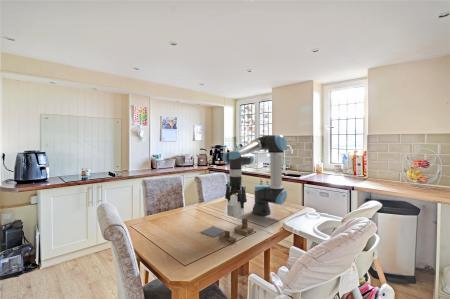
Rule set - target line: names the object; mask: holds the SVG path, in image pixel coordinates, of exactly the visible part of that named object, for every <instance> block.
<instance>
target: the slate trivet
mask: <svg viewBox="0 0 450 299" xmlns="http://www.w3.org/2000/svg"><path fill="white" fill-rule="evenodd" d="M225 231H227V230H226V229H223V228H219V227H217V226H215V225H213V226H210V227H208V228H206V229H203V230H201V231H200V233H201V234H204V235H206V236H209V237H211V238H216V237H219V235H221V234H223V233H224V234H225Z"/></svg>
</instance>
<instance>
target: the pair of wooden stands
mask: <svg viewBox="0 0 450 299" xmlns="http://www.w3.org/2000/svg"><path fill="white" fill-rule="evenodd" d="M248 223H249V222H248V218H247V217H243V218H241V224H239V225H237V226H234V228H233V229H234V230H233V231H234V232H235V233H238V234H241V235H244V236H248V235H250V234H252V233H254V228H253V227H251V226H248ZM218 241H220V242H224V243H226V244H229V245H235V243H237V237H236V236H232V235H231V232H230V231H229V230H226V231H225V232H224V233H222V234H220V235H219V236H218Z"/></svg>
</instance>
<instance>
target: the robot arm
mask: <svg viewBox="0 0 450 299" xmlns="http://www.w3.org/2000/svg"><path fill="white" fill-rule="evenodd" d="M287 146H288V145H287V140H286V138H285V136H284V135H281V134H279V135H278V134H276V135H274V134H272V135H271V134H270V135H262V136H260V137H257V138H255V139H253V140H251V142H249V143H247V144H245V145H243V146H241V147H239V148H237V149H234V150H231V151H229V152H224V153H222V156H221V157H222V162H224V163H225V164H229V166H228V168H229V169H228V170H229V177H228V178H229V183H226V184H225V187H226V188H225V194H224V196H225V197H224V199H225V200H227V204H228V203H230V196H231V195H233V194H234V192H236V194H238V197H239V200H240V203H239V214H242V213H243V208H244V209H245V203H247V200H248V199H247V194H246V186H245V185H243V184H242V173H243V172H242V166H247V165H251V164H253V163H254V161H255V157H254V155H253V154H252V153H255V152H259V151H263V150H264V151H268V154H269V155H270V156H269V157H270V159H269V162H270V164H269V165H270V167H269V168H270V169H269V170H270V185H268V184H261V185H260V184H259V185H256V186H254V204H253V207H252V210H251V212H252V214H253V215H257V216H261V217H262V216H263V217H264V216H269V215H271V214H272V213H271V212H272V211H271V207H270V204H269V203H271V204H274V205H283V204H285V202H286V200H287V197H288V193H287V190H286V189H285V187H284V185H283V180H282V178H283V176H282V175H283V174H282V172H283V171H282V170H283V169H282V165H283V164H282V162H283V160H282V157H283V156H282V155H283V154H284V151H286V149H287Z"/></svg>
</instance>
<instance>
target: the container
mask: <svg viewBox="0 0 450 299" xmlns="http://www.w3.org/2000/svg"><path fill="white" fill-rule="evenodd" d="M239 203H240V200H239V197H238V194H237V193H233V195H231V196H230V203H228V202H227V204H226V206H227V210H226V213H227V214H226V215H227V216H228V217H231V218H235V219H238V218H240V217H243V216H244V215H245V207H244V208H243V213H242V214H239Z"/></svg>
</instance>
